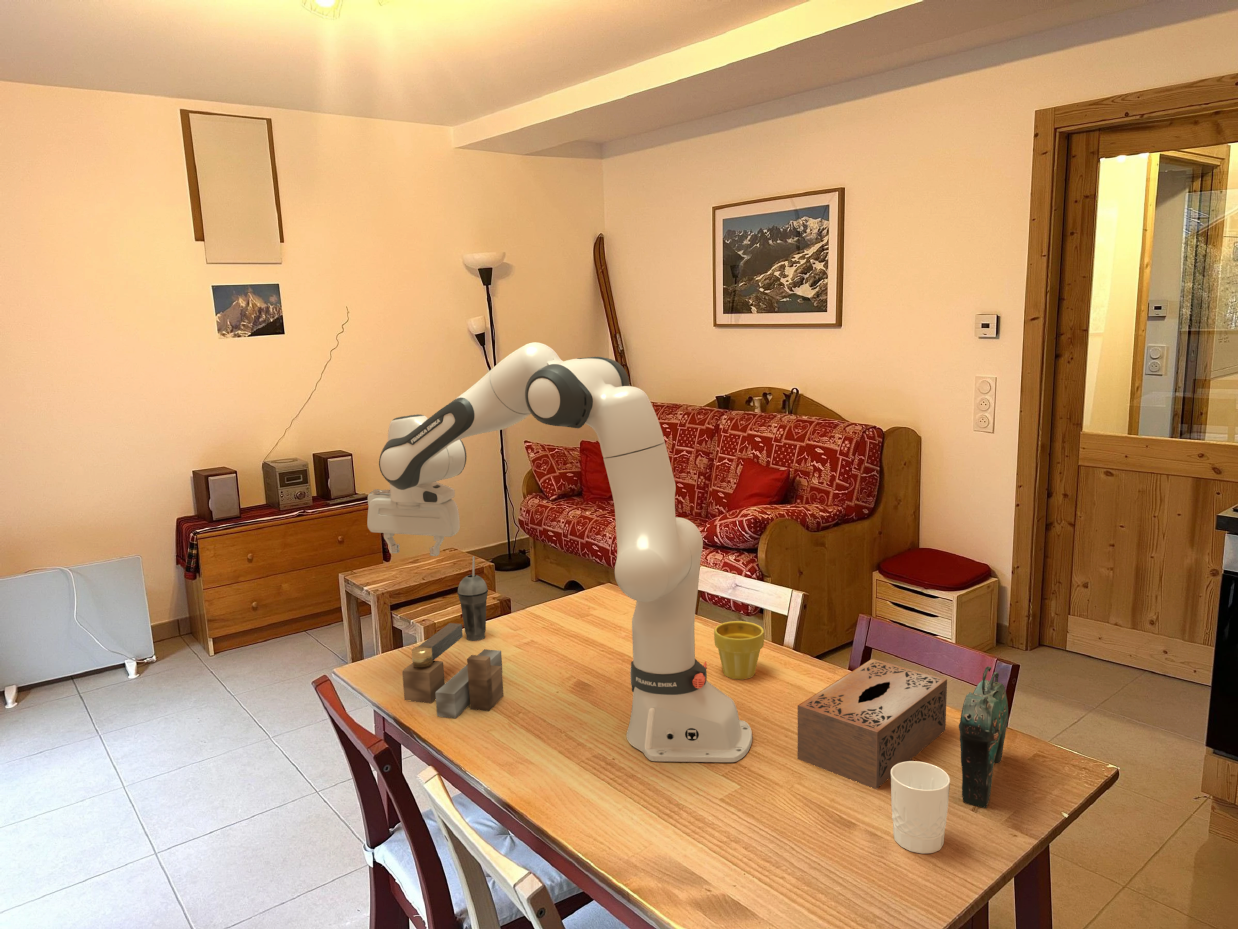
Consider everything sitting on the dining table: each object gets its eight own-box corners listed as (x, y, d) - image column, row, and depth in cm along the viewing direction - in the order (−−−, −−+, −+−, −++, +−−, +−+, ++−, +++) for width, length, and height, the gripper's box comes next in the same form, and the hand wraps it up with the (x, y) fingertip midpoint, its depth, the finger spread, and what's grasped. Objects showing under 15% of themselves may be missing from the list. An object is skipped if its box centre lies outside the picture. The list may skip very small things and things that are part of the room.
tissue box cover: (876, 791, 134) (877, 732, 132) (797, 760, 144) (797, 705, 142) (945, 731, 152) (947, 679, 150) (871, 708, 162) (872, 658, 160)
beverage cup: (454, 640, 204) (448, 560, 200) (472, 630, 210) (467, 552, 207) (478, 644, 200) (473, 563, 197) (496, 634, 206) (492, 555, 203)
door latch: (523, 674, 182) (521, 628, 181) (479, 721, 162) (476, 669, 160) (444, 667, 188) (441, 622, 186) (391, 711, 167) (387, 661, 165)
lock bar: (426, 668, 170) (425, 653, 170) (408, 666, 171) (407, 652, 171) (464, 637, 186) (463, 624, 186) (448, 635, 187) (447, 623, 187)
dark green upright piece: (992, 817, 126) (997, 690, 122) (946, 804, 129) (950, 681, 126) (1012, 757, 142) (1018, 644, 139) (971, 748, 146) (976, 637, 142)
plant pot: (763, 684, 173) (763, 639, 172) (713, 682, 175) (712, 637, 174) (764, 664, 183) (764, 621, 182) (716, 662, 185) (715, 620, 184)
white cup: (934, 822, 125) (936, 759, 123) (957, 855, 117) (959, 789, 115) (881, 825, 125) (882, 762, 123) (900, 858, 117) (902, 792, 115)
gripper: (359, 491, 179) (363, 555, 181) (448, 495, 174) (451, 561, 176) (375, 485, 185) (378, 547, 187) (461, 489, 180) (464, 552, 182)
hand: (414, 554), depth 182 cm, fingers open, 8 cm apart
